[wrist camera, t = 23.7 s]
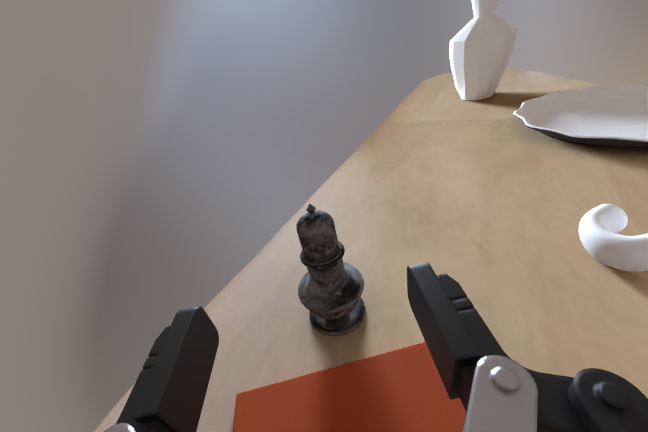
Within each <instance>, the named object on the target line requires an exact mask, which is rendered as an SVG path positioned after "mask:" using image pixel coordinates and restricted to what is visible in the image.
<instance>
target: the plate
mask: <svg viewBox="0 0 648 432" xmlns="http://www.w3.org/2000/svg"><path fill="white" fill-rule="evenodd" d="M513 115H514V116H516V117H517V118H519V119H521V120H522V121H523V122H524V124H525V126H527V127H529V128H531V129H534V130H537V131H540V132H541V133H543V134H545V135H548V136H552V137H555V138H558V139H561V140H567V141H572V142H577V143H582V144H592V145H601V146H615V147H648V84H640V85H604V86H594V87H588V88H582V89H574V90H565V91H557V92H552V93H550V94H547V95H545V96H542V97H538V98H534V99H530V100H527V101H525V102H523V103H522V105H521V107H520V108H519V109H517V110H516V111H514V112H513Z"/></svg>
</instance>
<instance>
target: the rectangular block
mask: <svg viewBox="0 0 648 432" xmlns="http://www.w3.org/2000/svg"><path fill="white" fill-rule="evenodd" d="M465 415H466V410H465V408H464V406H463V404H462V402H461V399H460V398H458V399H452V400H450V398H449V396H448V394H447V391H446V389H445V386H444V384H443V382H442V379H441V377H440V375H439V372H438V370H437V368H436V365H435V363H434V361H433V358H432V356H431V353H430V351H429V349H428V346H427V344H426V342H423V343H420V344H416V345H412V346H409V347H405V348H402V349H398V350H394V351H391V352H387V353H383V354H380V355H376V356H373V357H369V358H365V359H362V360H358V361H355V362H351V363H347V364H344V365H340V366H336V367H333V368H329V369H326V370H322V371H318V372H315V373H311V374H307V375H304V376H300V377H297V378H293V379H289V380H286V381H282V382H279V383H275V384H271V385H268V386H264V387H260V388H257V389H253V390H250V391H246V392H242V393H239V394H237V396H236V407H235V418H234V428H233V432H462V430H463V425H464V420H465Z"/></svg>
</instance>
